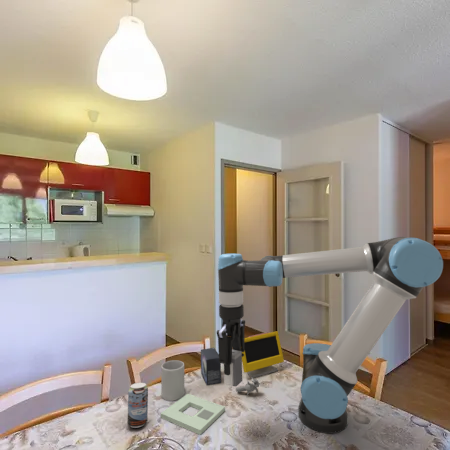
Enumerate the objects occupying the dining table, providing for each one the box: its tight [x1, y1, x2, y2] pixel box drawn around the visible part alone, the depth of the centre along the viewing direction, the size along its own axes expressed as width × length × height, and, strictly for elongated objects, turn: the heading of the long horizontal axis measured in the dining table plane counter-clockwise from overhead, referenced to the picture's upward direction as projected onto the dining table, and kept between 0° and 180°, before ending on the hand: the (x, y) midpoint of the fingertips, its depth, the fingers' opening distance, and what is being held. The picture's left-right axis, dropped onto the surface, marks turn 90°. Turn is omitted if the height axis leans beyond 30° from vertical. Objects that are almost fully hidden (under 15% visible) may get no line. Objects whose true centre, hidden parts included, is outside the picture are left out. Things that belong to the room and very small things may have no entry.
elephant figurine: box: [235, 378, 261, 398], centre depth 112 cm, size 10×6×9 cm
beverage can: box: [126, 382, 149, 429], centre depth 96 cm, size 6×7×12 cm
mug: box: [160, 359, 186, 402], centre depth 114 cm, size 12×8×11 cm
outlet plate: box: [160, 393, 226, 436], centre depth 101 cm, size 16×14×2 cm
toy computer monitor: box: [242, 330, 285, 379], centre depth 131 cm, size 20×8×16 cm, turn 119°
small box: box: [200, 347, 222, 386], centre depth 125 cm, size 11×6×10 cm, turn 17°
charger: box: [231, 348, 243, 388], centre depth 93 cm, size 4×4×9 cm
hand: (232, 380), depth 93 cm, fingers closed on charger, 4 cm apart
